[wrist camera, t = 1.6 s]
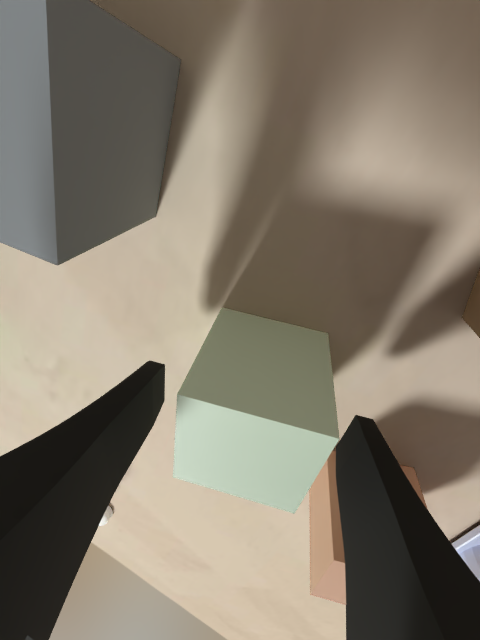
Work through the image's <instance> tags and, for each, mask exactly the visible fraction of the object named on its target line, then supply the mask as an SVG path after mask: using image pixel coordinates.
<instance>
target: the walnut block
mask: <svg viewBox="0 0 480 640" xmlns="http://www.w3.org/2000/svg"><path fill="white" fill-rule="evenodd" d="M462 318H463V319H464V321H465V322H466V323H467V324H468V325H469V326H470V327H471V329H472V330H473V331H474V332H475V333H476V334H477V335H478V337H479V338H480V268H479V271H478V274H477V277H476V279H475V282H474V285H473V288H472V291H471V293H470V296H469V299H468V302H467V305H466V307H465V310H464V313H463V316H462Z"/></svg>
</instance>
